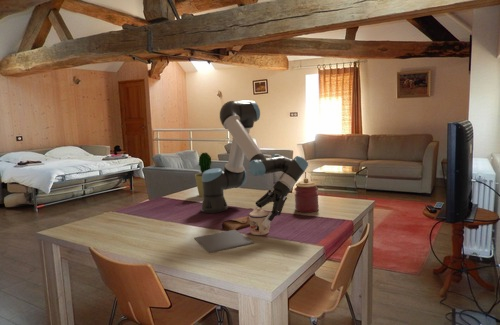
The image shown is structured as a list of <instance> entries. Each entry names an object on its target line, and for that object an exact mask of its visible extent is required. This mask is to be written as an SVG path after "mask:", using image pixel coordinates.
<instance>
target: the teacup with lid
mask: <svg viewBox="0 0 500 325" xmlns="http://www.w3.org/2000/svg"><path fill="white" fill-rule="evenodd" d="M252 211H253V210H252ZM252 211H251V212H249V214H248V215H249V216H250V226H249V230H250V234H251V235H254V236H265V235H267V234H269V232H270V228H271V223H270V224H269V225H268V226H267V228H266V227H265V226H263V225H262V223H263V221H264V220H265V219H266V217H267V216H268V215H269V212H268V211H266V210H264V209H262V208H256V210H255V211H253V212H252Z"/></svg>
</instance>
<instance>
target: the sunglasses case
mask: <svg viewBox="0 0 500 325" xmlns="http://www.w3.org/2000/svg"><path fill="white" fill-rule="evenodd" d="M221 226H222V230H223V229H224V230H226V231H230V230H237V231H238V230H242V229H246V228H250V218H249V214H248V215H246V216H241V217H236V218H232V219H228V220H224V221H223V222H222V224H221Z"/></svg>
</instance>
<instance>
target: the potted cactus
mask: <svg viewBox="0 0 500 325" xmlns="http://www.w3.org/2000/svg"><path fill="white" fill-rule="evenodd" d="M198 165H199V166H198V167H199V169H200V172H199V173H196V174H194V177H195V178H194V179H195V182H196V188H197V192H198V195H199V198H203V183H202V174H203V172H204V171H206V170H209V169H212V168H211V166H212V156H211V155H210V154H209V153H208V152H201V153H200V155H199V156H198Z"/></svg>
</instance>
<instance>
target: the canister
mask: <svg viewBox="0 0 500 325" xmlns="http://www.w3.org/2000/svg"><path fill="white" fill-rule="evenodd" d="M317 185H318V184H317V183H316V182H314V181H311V180H309V179H308V177H306V178H304V179H303V180H302V181H297V182H296V183H295V186H296V187H294V188H293V189H294V191H295V193H294V200H295V201H294V202H295V203H294V204H295V205H294V209H295V211H297V212H299V213H313V212H318V210H319V206H320V205H319V193H318V190H319V187H317Z"/></svg>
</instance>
